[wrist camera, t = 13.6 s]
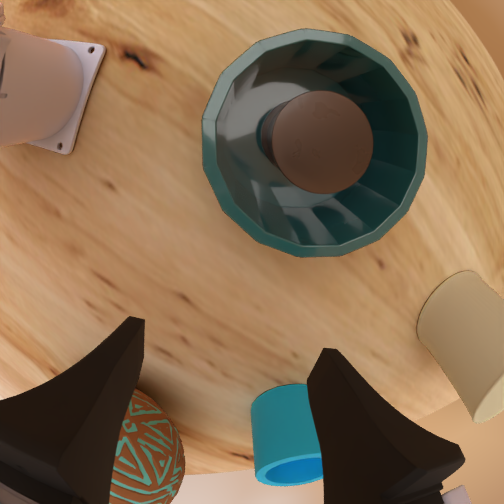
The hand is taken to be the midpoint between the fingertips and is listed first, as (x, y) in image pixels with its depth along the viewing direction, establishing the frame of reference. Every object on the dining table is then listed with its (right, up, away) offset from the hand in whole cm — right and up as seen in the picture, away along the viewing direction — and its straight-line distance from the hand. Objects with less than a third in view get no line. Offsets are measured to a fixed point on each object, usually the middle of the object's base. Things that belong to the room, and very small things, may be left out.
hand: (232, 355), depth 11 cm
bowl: (+3, +11, +7) cm, 14 cm away
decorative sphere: (-13, -11, +16) cm, 24 cm away
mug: (+6, -11, +17) cm, 21 cm away
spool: (+4, +11, +6) cm, 13 cm away
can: (+21, -2, +14) cm, 25 cm away
